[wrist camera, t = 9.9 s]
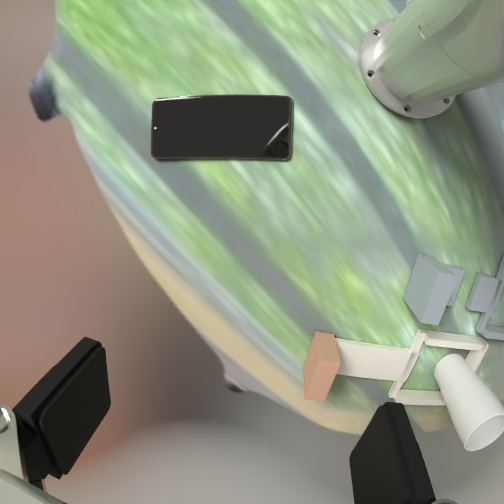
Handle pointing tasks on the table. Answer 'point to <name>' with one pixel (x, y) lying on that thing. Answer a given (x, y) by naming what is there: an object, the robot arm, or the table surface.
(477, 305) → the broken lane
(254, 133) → the smartphone
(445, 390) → the drinking glass
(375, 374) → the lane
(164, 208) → the table surface
